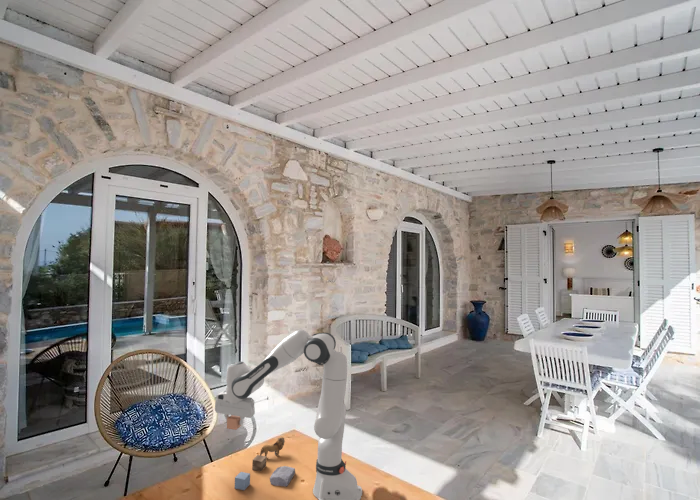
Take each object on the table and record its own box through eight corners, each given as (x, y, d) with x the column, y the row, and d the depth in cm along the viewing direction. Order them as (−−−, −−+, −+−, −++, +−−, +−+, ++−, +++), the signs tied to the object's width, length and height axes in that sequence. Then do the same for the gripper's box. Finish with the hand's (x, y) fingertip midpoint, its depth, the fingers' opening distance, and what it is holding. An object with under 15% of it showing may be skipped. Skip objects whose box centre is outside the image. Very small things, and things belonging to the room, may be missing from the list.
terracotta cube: (241, 425, 193) (241, 415, 193) (236, 430, 189) (236, 419, 189) (232, 424, 195) (232, 414, 195) (226, 428, 190) (227, 418, 190)
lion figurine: (282, 450, 214) (282, 434, 214) (286, 455, 210) (286, 438, 210) (256, 458, 206) (256, 441, 206) (259, 463, 201) (260, 445, 201)
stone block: (268, 488, 183) (288, 487, 181) (267, 478, 183) (287, 476, 182) (277, 475, 195) (296, 474, 193) (276, 465, 195) (295, 464, 193)
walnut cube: (266, 466, 198) (266, 456, 198) (261, 471, 194) (261, 461, 194) (257, 464, 200) (257, 454, 200) (252, 469, 195) (252, 459, 195)
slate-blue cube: (249, 484, 183) (250, 473, 183) (244, 490, 178) (244, 479, 178) (240, 482, 184) (240, 471, 184) (234, 488, 179) (234, 477, 180)
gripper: (257, 395, 192) (256, 424, 192) (221, 390, 197) (220, 418, 197) (251, 400, 186) (250, 429, 186) (213, 394, 191) (212, 423, 191)
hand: (234, 423), depth 192 cm, fingers closed on terracotta cube, 5 cm apart
